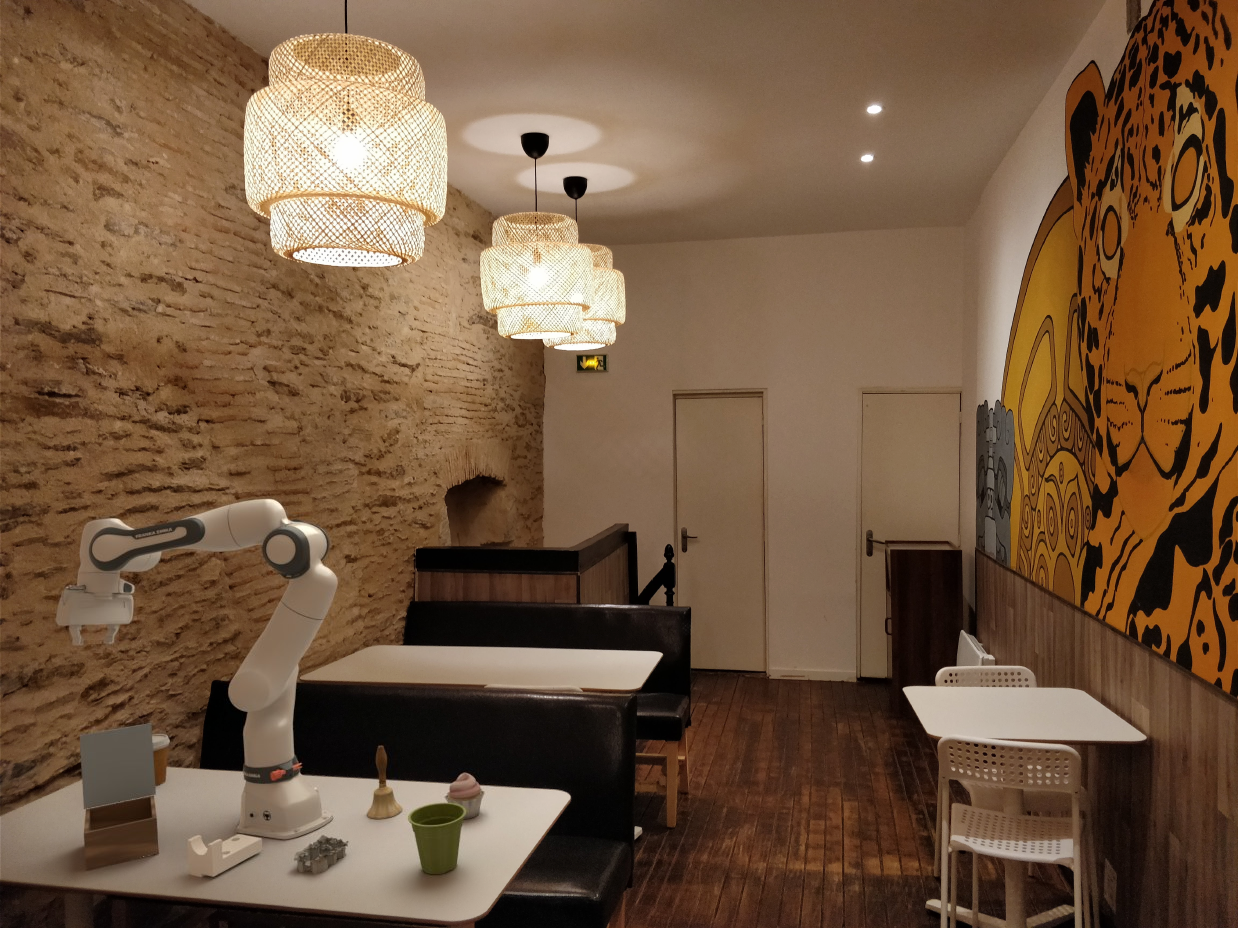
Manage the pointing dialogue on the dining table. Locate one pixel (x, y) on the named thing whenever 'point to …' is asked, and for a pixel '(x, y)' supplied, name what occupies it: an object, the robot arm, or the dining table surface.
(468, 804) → the cupcake
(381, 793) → the hand bell
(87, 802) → the lid
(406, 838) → the dining table surface
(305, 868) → the egg carton
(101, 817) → the box
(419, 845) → the plant pot
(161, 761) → the disposable coffee cup
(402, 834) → the dining table surface
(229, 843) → the bracket
